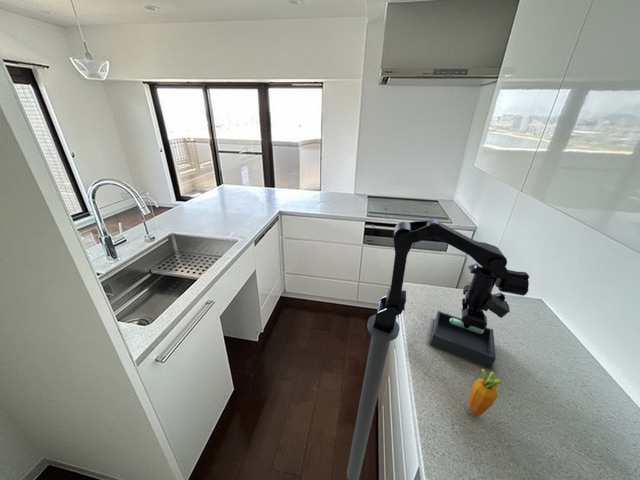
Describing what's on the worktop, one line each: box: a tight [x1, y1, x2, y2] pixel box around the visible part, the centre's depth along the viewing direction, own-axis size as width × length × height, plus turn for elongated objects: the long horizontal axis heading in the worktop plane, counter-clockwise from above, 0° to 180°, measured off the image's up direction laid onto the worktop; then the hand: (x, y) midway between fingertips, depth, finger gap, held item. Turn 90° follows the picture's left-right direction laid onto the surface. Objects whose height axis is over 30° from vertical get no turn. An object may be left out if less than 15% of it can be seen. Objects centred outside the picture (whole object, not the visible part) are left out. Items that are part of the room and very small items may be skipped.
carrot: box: [468, 368, 502, 417], centre depth 62 cm, size 5×5×15 cm
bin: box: [429, 310, 497, 370], centre depth 86 cm, size 18×14×5 cm
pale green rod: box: [450, 318, 484, 334], centre depth 84 cm, size 10×2×2 cm, turn 61°
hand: (466, 325), depth 84 cm, fingers closed on pale green rod, 2 cm apart
